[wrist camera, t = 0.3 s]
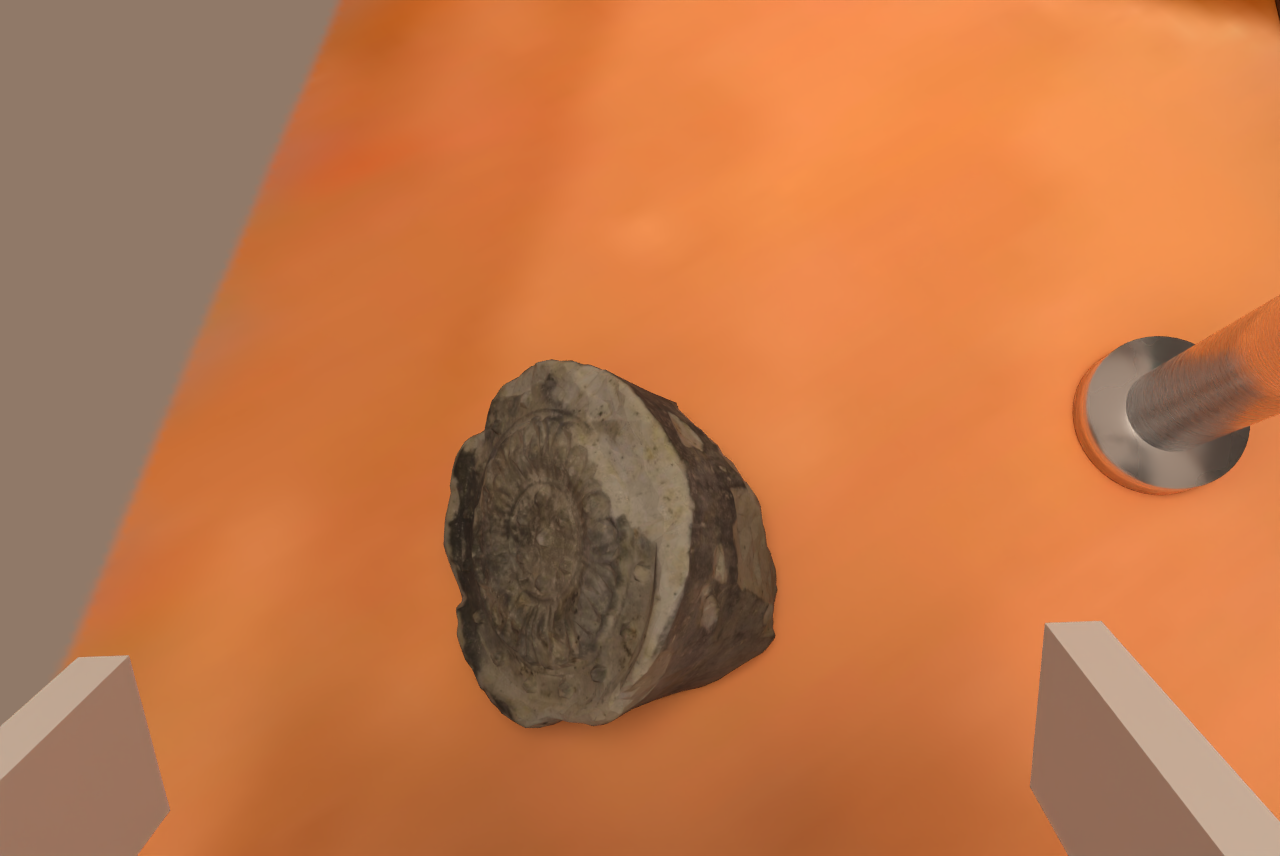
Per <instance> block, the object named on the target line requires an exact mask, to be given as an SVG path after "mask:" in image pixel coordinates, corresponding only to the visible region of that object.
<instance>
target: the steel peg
mask: <svg viewBox="0 0 1280 856" xmlns="http://www.w3.org/2000/svg"><path fill="white" fill-rule="evenodd" d="M1278 414H1280V295H1279V296H1277V297H1275V298H1274V299H1272V300H1270V301H1268V302H1267V303H1265V304H1263V305H1262V306H1260V307H1258V308H1257V309H1255V310H1253V311H1251V312H1250V313H1248V314H1246V315H1245V316H1243V317H1241V318H1240V319H1238V320H1236V321H1235V322H1233V323H1231V324H1229V325H1228V326H1226V327H1224V328H1223V329H1221V330H1219V331H1218V332H1216V333H1214V334H1212V335H1211V336H1209V337H1207V338H1206V339H1204V340H1202V341H1201V342H1199V343H1197V344H1193V343H1191V342H1188V341H1185V340H1182V339H1178V338H1172V337H1163V336H1154V337H1145V338H1140V339H1136V340H1133V341H1130V342H1128V343H1126V344H1124V345H1122V346H1120V347H1118V348H1117V349H1115V350H1114V351H1112V352H1111V353H1110V354H1108V355H1107V356H1105V357H1104V358H1102V359H1101V360H1099V361H1098V362H1097V363H1095V364H1094V365H1093V366H1092V367H1091V368H1090V369H1089V370H1088V371H1087V373H1086V374H1085V375H1084V377H1083V378H1082V380H1081V382H1080V383H1079V385H1078V388H1077V391H1076V393H1075V398H1074V403H1073V421H1074V426H1075V431H1076V434H1077V437H1078V440H1079V442H1080V444H1081V446H1082V448H1083V450H1084V452H1085V453H1086V454H1087V456H1088V457H1089V459H1090V460H1091V461H1092V462H1093V464H1094V465H1095V466H1096V467H1097V468H1098V469H1099V470H1100V471H1101V472H1102V473H1103V474H1105V475H1106V476H1107V477H1109V478H1110V479H1112V480H1113V481H1115V482H1116V483H1118V484H1120V485H1122V486H1124V487H1126V488H1129V489H1131V490H1134V491H1138V492H1141V493H1147V494H1154V495H1166V494H1174V493H1179V492H1183V491H1186V490H1189V489H1192V488H1195V487H1199V486H1202V485H1205V484H1207V483H1210V482H1212V481H1214V480H1216V479H1218V478H1220V477H1221V476H1223V475H1224V474H1225V473H1227V472H1228V471H1229V470H1230V469H1231V468H1232V467H1233V466H1234V465H1235V464H1236V463H1237V461H1238V460H1239V458H1240V457H1241V455H1242V453H1243V451H1244V449H1245V447H1246V444H1247V441H1248V437H1249V431H1250V425H1252V424H1255V423H1257V422H1260V421H1262V420H1265V419H1267V418H1270V417H1273V416H1275V415H1278Z"/></svg>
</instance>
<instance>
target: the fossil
mask: <svg viewBox="0 0 1280 856" xmlns="http://www.w3.org/2000/svg"><path fill="white" fill-rule="evenodd" d="M450 490H451V495H450V499H449V504H448V508H447V513H446V517H445V529H444V548H445V552H446V554H447V557H448V560H449V563H450V566H451V568H452V571H453V574H454V576H455V578H456V581H457V583H458V585H459V588H460V592H461V595H462V602H461V603H460V604H459V605H458V607H457V608H456V614H457V618H458V629H457V637H458V640H459V644H460V646H461V649H462V652H463V654H464V657H465V660H466V661H467V663H468V664H469V665H470V667H471V668H472V670H473V672H474V674H475V677H476V679H477V681H478V684H479V686H480V688H481V689H482V690H484V691H485V693H486V694H487V696H488V698H489V699H490V701H491V702H492V703H493V704H494V705H495V706H496V707H497V708H498V709H499V710H500V712H501V713H502V714H504V715H505V716H507V717H508V718H510V719H511V720H512V721H514V722H516V723H517V724H519V725H521V726H523V727H525V728H540V727H544V726H549V725H553V724H556V723H558V722H560V721H566V722H573V723H584V724H588V725H591V726H597V725H604V724H606V723H609V722H611V721H613V720H615V719H616V718H618V717H620V716H621V715H623V714H625V713H626V712H628V711H630V710H631V709H634V708H636V707H638V706H641V705H643V704H646V703H648V702H651V701H653V700H656V699H659V698H662V697H665V696H668V695H671V694H674V693H678V692H681V691H685V690H690V689H695V688H699V687H702V686H705V685H707V684H709V683H712V682H714V681H717V680H719V679H720V678H722V677H723V676H725V675H726V674H728V673H729V672H731V671H733V670H734V669H736V668H737V667H739V666H741V665H742V664H744V663H745V662H747V661H749V660H750V659H752V658H754V657H756V656H757V655H759V654H761V653H762V652H763V651H765V650H766V649H767V647H768V646H769V645H770V644H771V642H772V641H773V640H774V638H775V633H774V630H773V610H774V602H775V597H776V593H777V586H776V570H775V566H774V563H773V560H772V557H771V553H770V551H769V549H768V547H767V544H766V534H765V529H764V526H763V522H762V514H761V506H760V504H759V501H758V499H757V497H756V495H755V494H754V493H753V491H752V490H751V488H750V487H749V485H748V484H747V482H745V481H744V480H743V478H742V477H741V475H740V473H739V472H738V470H737V469H736V467H735V465H734V464H733V462H731V461H730V460H729V459H728V458H727V457H725V456H724V455H723V454H722V452H721V450H720V448H719V447H718V445H717V444H715V443H714V442H713V441H712V440H711V439H710V438H708V436H707V435H706V434H705V433H704V432H703V431H702V430H701V429H699V428H698V427H696V426H695V425H694V424H693V423H692V422H691V421H690V420H689V419H688V418H687V417H686V416H685V415H684V414H683V413H682V412H681V411H680V410H679V409H678V406H677V403H676V402H673V401H671V400H668V399H666V398H663V397H661V396H658V395H656V394H653V393H651V392H649V391H647V390H645V389H643V388H641V387H639V386H636V385H634V384H632V383H630V382H628V381H626V380H624V379H622V378H620V377H618V376H616V375H614V374H613V373H611V372H609V371H607V370H602V369H599V368H597V367H594V366H592V365H583V364H580V363H577V362H574V361H557V360H552V359H551V360H547V361H542V362H538V363H536V364H535V365H534V366H531V367H530V368H528V369H527V370H526V371H524V372H523V373H522V374H521V375H520V376H519V377H518V378H516V379H514V380H512V381H510V382H508V383H506V384H505V385H503V386H502V388H501V389H500V390H499V392H498V393H497V395H496V396H495V398H494V399H493V400H492V402H491V405H490V409H489V412H488V416H487V421H486V426H485V430H484V431H483V432H481V433H479V434H477V435H474V436H472V437H470V438H469V439H468V440H466V441H465V442H464V444H463V445H462V447H461V449H460V450H459V452H458V454H457V456H456V458H455V462H454V465H453V469H452V475H451V482H450Z"/></svg>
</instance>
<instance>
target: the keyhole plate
mask: <svg viewBox="0 0 1280 856" xmlns="http://www.w3.org/2000/svg"><path fill="white" fill-rule="evenodd" d="M1276 4H1277V8H1278V12H1279V17H1280V0H1276Z"/></svg>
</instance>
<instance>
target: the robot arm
mask: <svg viewBox="0 0 1280 856" xmlns="http://www.w3.org/2000/svg"><path fill="white" fill-rule="evenodd" d="M1030 788H1031V789H1032V791H1033V793H1034V795H1035V797H1036V798H1037V800H1038V802H1039V804H1040V806H1041V807H1042V809H1043V811H1044V813H1045V815H1046V816H1047V818H1048V820H1049V822H1050V824H1051V825H1052V827H1053V829H1054V831H1055V833H1056V834H1057V836H1058V838H1059V840H1060V842H1061V843H1062V845H1063V847H1064V849H1065V851H1066V852H1067V854H1068V856H1280V822H1279V820H1278V819H1277V818H1276V817H1275V816H1274V815H1273V814H1272V813H1271V811H1270V810H1269V809H1268V808H1267V807H1266V806H1265V805H1264V804H1263V802H1262V801H1261V800H1260V799H1259V798H1258V797H1257V796H1256V795H1255V793H1254V792H1253V791H1252V790H1251V789H1250V788H1249V787H1248V786H1247V784H1246V783H1245V782H1244V781H1243V780H1242V779H1241V778H1240V777H1239V775H1238V774H1237V773H1236V772H1235V771H1234V770H1233V769H1232V768H1231V766H1230V765H1229V764H1228V763H1227V762H1226V761H1225V760H1224V759H1223V757H1222V756H1221V755H1220V754H1219V753H1218V752H1217V751H1216V750H1215V748H1214V747H1213V746H1212V745H1211V744H1210V743H1209V742H1208V741H1207V739H1206V738H1205V737H1204V736H1203V735H1202V734H1201V733H1200V732H1199V730H1198V729H1197V728H1196V727H1195V726H1194V725H1193V724H1192V723H1191V721H1190V720H1189V719H1188V718H1187V717H1186V716H1185V715H1184V714H1183V712H1182V711H1181V710H1180V709H1179V708H1178V707H1177V706H1176V705H1175V704H1174V702H1173V701H1172V700H1171V699H1170V698H1169V697H1168V696H1167V695H1166V693H1165V692H1164V691H1163V690H1162V689H1161V688H1160V687H1159V686H1158V684H1157V683H1156V682H1155V681H1154V680H1153V679H1152V678H1151V677H1150V675H1149V674H1148V673H1147V672H1146V671H1145V670H1144V669H1143V668H1142V666H1141V665H1140V664H1139V663H1138V662H1137V661H1136V660H1135V659H1134V657H1133V656H1132V655H1131V654H1130V653H1129V652H1128V651H1127V650H1126V648H1125V647H1124V646H1123V645H1122V644H1121V643H1120V642H1119V641H1118V639H1117V638H1116V637H1115V636H1114V635H1113V634H1112V633H1111V632H1110V630H1109V629H1108V628H1107V627H1106V626H1105V625H1104V624H1103V623H1102V621H1087V622H1059V623H1045V628H1044V639H1043V650H1042V661H1041V672H1040V683H1039V694H1038V705H1037V716H1036V727H1035V738H1034V749H1033V760H1032V771H1031V782H1030ZM169 811H170V808H169V804H168V800H167V797H166V793H165V789H164V785H163V782H162V778H161V774H160V770H159V767H158V763H157V759H156V755H155V752H154V748H153V744H152V740H151V737H150V733H149V729H148V725H147V721H146V718H145V714H144V710H143V706H142V703H141V699H140V695H139V691H138V688H137V684H136V680H135V676H134V673H133V669H132V665H131V661H130V657H129V656H102V657H78V658H77V659H76V660H75V661H73V662H72V663H71V664H70V665H69V666H68V667H67V668H66V669H64V670H63V671H62V672H61V673H60V674H59V675H58V676H57V677H55V678H54V679H53V680H52V681H51V682H50V683H49V684H48V685H46V686H45V687H44V688H43V689H42V690H41V691H40V692H39V693H37V694H36V695H35V696H34V697H33V698H32V699H31V700H30V701H28V702H27V703H26V704H25V705H24V706H23V707H22V708H21V709H19V710H18V711H17V712H16V713H15V714H14V715H13V716H12V717H10V718H9V719H8V720H7V721H6V722H5V723H4V724H3V725H1V726H0V856H137V855H138V853H139V852H140V851H141V849H142V848H143V847H144V845H145V844H146V843H147V841H148V840H149V838H150V837H151V836H152V834H153V833H154V832H155V830H156V829H157V828H158V826H159V825H160V823H161V822H162V821H163V819H164V818H165V817H166V815H167V814H168V813H169Z"/></svg>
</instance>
